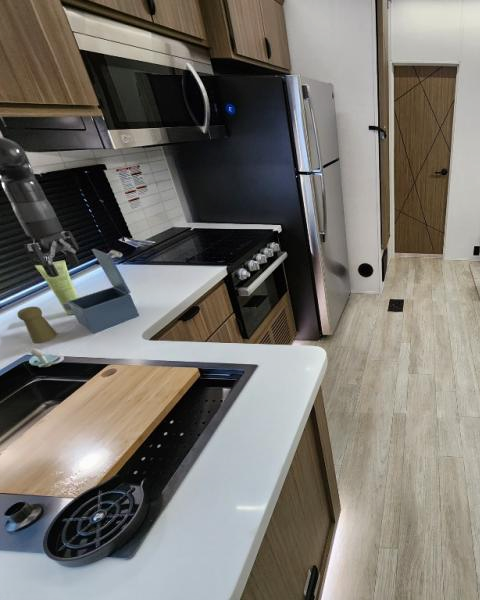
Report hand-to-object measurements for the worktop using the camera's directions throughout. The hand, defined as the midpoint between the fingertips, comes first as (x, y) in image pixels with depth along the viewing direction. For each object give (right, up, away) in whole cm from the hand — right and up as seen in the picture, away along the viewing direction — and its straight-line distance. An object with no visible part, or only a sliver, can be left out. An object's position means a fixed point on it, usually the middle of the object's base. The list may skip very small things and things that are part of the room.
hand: (65, 270), depth 99 cm
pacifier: (-1, -27, -3) cm, 28 cm away
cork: (-15, -21, +9) cm, 28 cm away
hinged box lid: (0, +1, +15) cm, 15 cm away
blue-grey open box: (-3, -16, +19) cm, 25 cm away
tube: (-20, -13, +24) cm, 34 cm away
